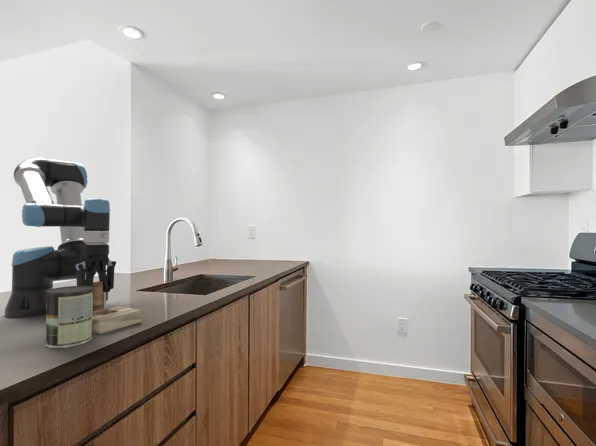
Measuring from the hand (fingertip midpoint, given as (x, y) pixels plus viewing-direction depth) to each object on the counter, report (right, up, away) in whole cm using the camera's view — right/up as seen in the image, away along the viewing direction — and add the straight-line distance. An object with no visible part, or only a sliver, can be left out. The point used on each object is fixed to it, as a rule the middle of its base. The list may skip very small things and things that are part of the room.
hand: (95, 312), depth 113 cm
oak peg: (0, -2, 0) cm, 2 cm away
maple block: (+10, -1, -10) cm, 14 cm away
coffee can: (+8, -1, -25) cm, 26 cm away
